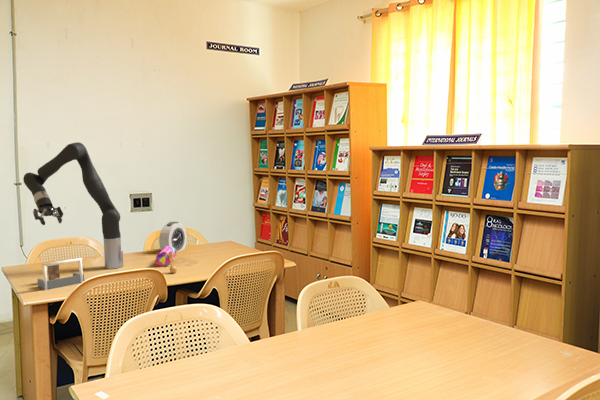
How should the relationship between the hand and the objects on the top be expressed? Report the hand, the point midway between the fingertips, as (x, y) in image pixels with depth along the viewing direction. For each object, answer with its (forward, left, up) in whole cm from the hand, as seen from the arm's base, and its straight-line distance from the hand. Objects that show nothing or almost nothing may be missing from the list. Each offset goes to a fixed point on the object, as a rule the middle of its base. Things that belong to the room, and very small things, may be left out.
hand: (52, 223), depth 270 cm
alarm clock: (-78, -5, -28) cm, 84 cm away
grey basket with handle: (+8, +26, -28) cm, 39 cm away
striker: (+8, +19, -28) cm, 34 cm away
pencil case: (-55, +23, -28) cm, 66 cm away
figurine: (-43, +48, -28) cm, 71 cm away
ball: (+9, +27, -26) cm, 39 cm away
